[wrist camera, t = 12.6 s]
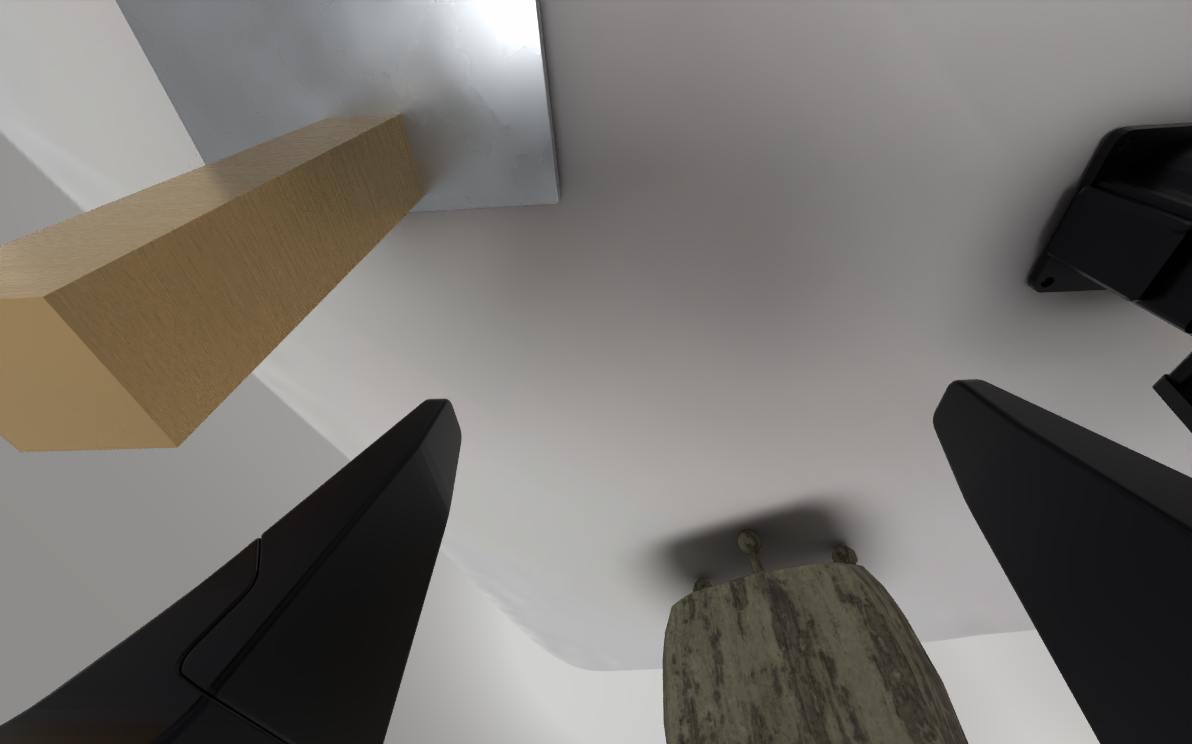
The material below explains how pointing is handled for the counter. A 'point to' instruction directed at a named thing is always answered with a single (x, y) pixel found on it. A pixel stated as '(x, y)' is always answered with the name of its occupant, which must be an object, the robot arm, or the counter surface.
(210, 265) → the grey plate wooden post
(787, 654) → the tabletop clock
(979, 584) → the counter surface
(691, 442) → the counter surface
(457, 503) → the counter surface
